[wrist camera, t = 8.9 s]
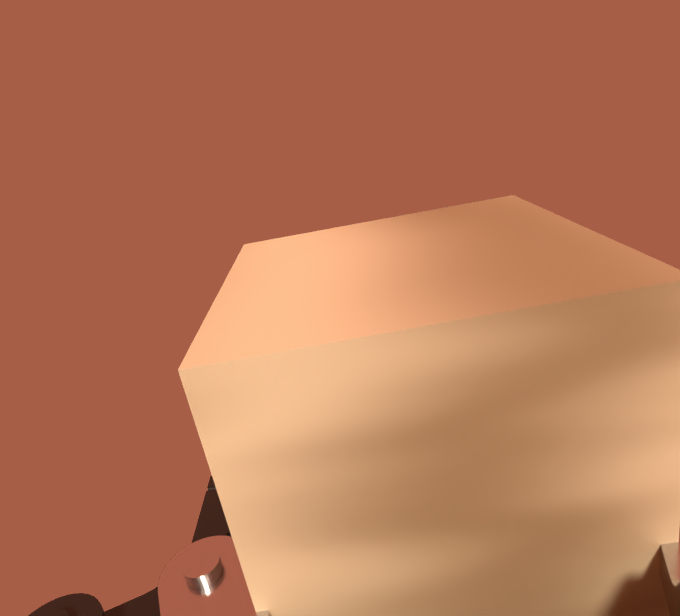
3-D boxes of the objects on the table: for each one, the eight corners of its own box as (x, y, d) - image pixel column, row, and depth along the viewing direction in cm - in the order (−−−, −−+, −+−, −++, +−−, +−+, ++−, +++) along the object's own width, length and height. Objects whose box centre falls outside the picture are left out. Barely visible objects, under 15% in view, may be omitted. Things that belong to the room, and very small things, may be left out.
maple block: (360, 937, 9) (178, 370, 5) (345, 654, 14) (243, 244, 10) (654, 893, 9) (696, 277, 5) (538, 623, 14) (513, 194, 10)
